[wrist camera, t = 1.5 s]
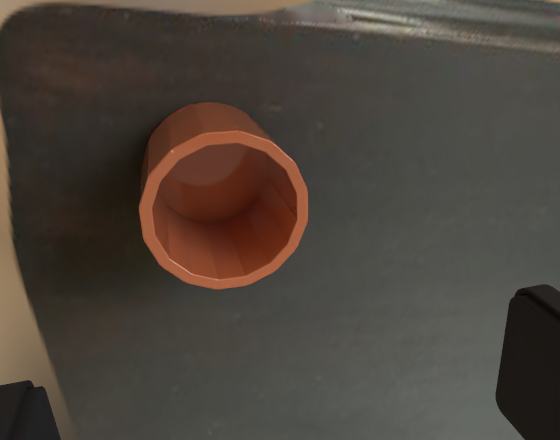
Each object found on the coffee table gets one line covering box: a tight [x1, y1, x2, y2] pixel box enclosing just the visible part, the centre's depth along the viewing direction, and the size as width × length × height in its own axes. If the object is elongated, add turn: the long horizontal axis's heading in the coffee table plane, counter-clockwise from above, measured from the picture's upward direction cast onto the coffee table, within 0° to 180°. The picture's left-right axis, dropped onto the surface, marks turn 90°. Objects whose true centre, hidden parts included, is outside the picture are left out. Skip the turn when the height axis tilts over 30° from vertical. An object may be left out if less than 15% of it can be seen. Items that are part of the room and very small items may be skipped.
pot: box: [139, 102, 308, 289], centre depth 23 cm, size 7×7×7 cm
